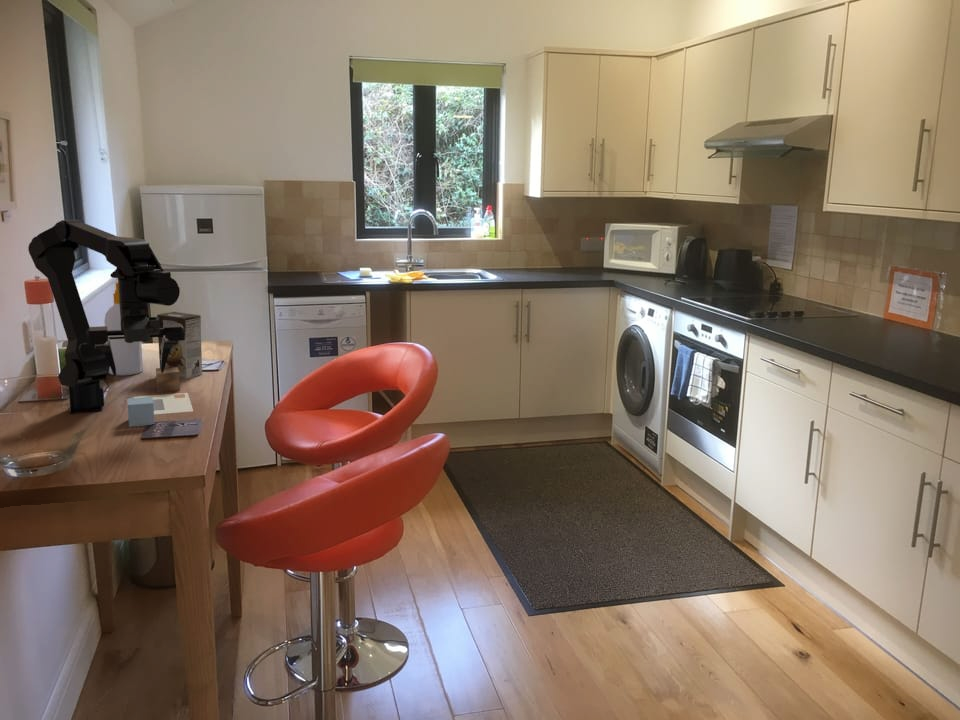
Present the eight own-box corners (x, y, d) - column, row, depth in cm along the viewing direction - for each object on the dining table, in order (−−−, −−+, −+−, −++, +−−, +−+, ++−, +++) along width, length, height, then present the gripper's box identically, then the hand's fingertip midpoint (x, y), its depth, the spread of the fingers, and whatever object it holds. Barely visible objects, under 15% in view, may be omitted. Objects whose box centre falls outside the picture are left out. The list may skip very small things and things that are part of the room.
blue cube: (129, 427, 172) (127, 404, 171) (128, 421, 177) (127, 398, 176) (154, 425, 174) (153, 403, 173) (153, 419, 179) (152, 396, 178)
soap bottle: (149, 373, 216) (144, 283, 210) (111, 377, 210) (105, 285, 205) (142, 366, 222) (136, 279, 217) (104, 370, 217) (98, 280, 212)
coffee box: (158, 375, 214) (155, 314, 210) (176, 370, 220) (173, 310, 216) (186, 379, 211) (183, 317, 207) (203, 374, 217) (201, 314, 213)
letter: (135, 416, 179) (135, 415, 179) (133, 397, 194) (133, 396, 194) (193, 411, 184) (193, 411, 184) (187, 393, 198) (187, 392, 198)
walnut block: (158, 393, 198) (156, 373, 197) (157, 388, 202) (155, 368, 201) (180, 391, 200) (178, 371, 199) (178, 386, 204) (177, 367, 203)
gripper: (83, 308, 159) (89, 386, 162) (185, 305, 166) (189, 379, 170) (84, 299, 169) (90, 373, 172) (180, 297, 176) (184, 367, 180)
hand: (138, 373), depth 173 cm, fingers open, 9 cm apart
